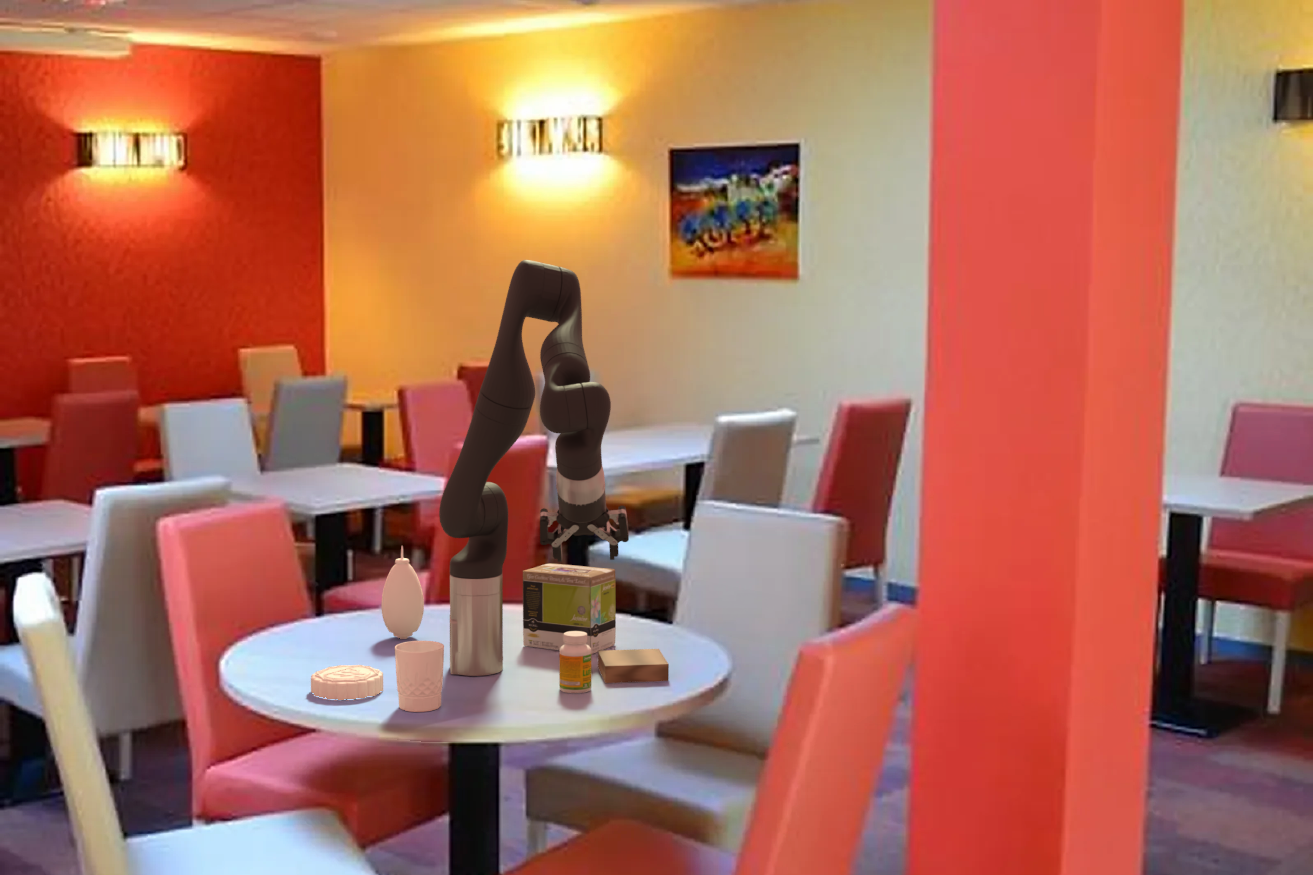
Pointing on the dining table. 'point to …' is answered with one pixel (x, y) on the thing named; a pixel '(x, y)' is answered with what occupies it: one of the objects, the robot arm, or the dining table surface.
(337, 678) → the mooncake
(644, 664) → the walnut plinth
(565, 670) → the supplement bottle
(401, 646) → the peach drinking glass
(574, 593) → the tea box
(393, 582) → the air blower bulb
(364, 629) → the dining table surface
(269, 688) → the dining table surface
